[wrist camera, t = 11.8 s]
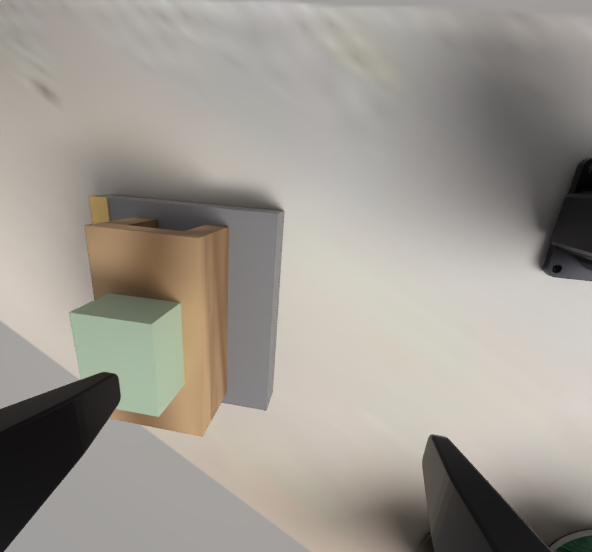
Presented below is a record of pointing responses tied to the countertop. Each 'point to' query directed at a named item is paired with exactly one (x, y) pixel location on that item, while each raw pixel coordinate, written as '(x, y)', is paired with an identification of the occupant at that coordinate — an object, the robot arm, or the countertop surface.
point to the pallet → (177, 288)
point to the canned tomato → (574, 542)
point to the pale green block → (132, 348)
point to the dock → (241, 280)
